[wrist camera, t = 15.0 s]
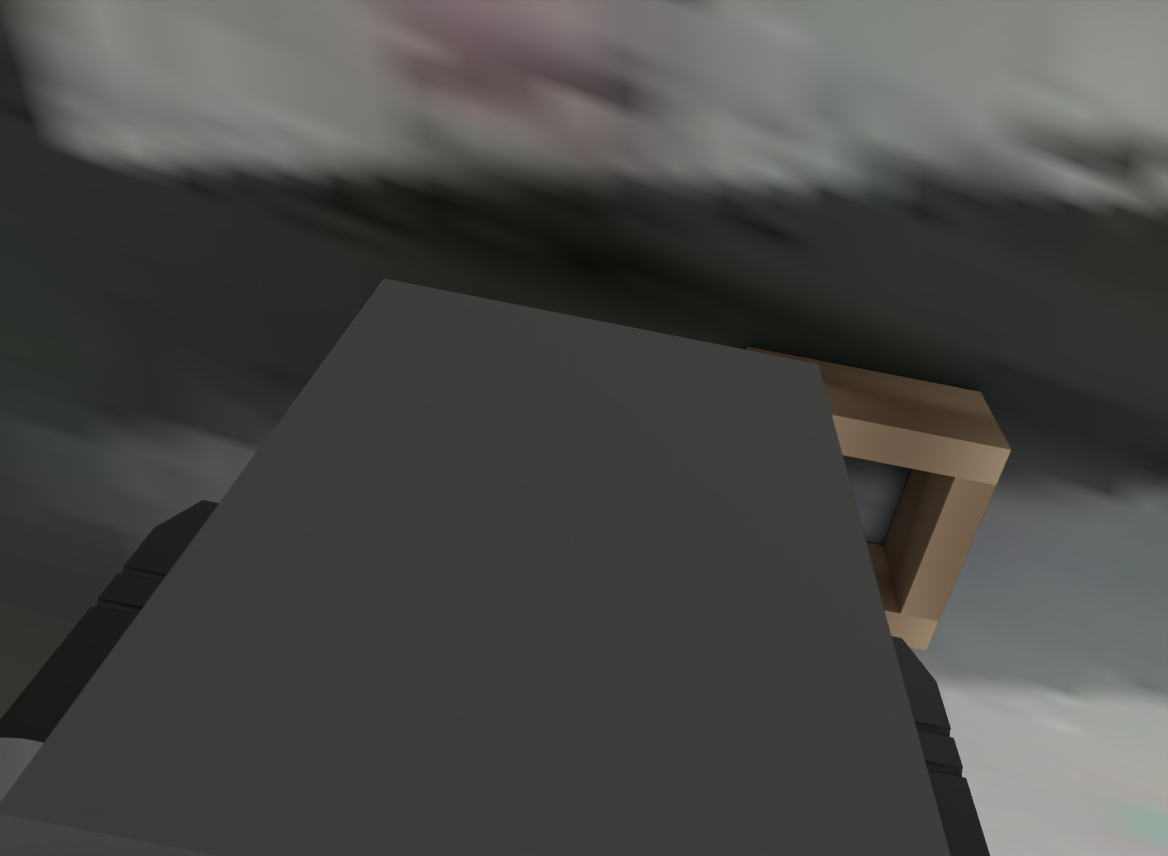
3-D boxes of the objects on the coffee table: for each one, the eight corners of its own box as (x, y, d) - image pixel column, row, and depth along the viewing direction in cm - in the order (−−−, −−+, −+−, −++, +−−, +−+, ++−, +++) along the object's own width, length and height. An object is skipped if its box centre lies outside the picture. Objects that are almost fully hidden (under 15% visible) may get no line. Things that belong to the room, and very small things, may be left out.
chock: (349, 686, 12) (74, 1353, 6) (383, 278, 9) (-8, 812, 4) (693, 753, 12) (702, 1470, 6) (817, 363, 9) (991, 1002, 4)
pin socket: (696, 537, 24) (694, 604, 22) (746, 346, 22) (751, 399, 20) (906, 579, 24) (926, 650, 22) (980, 391, 22) (1011, 449, 19)
